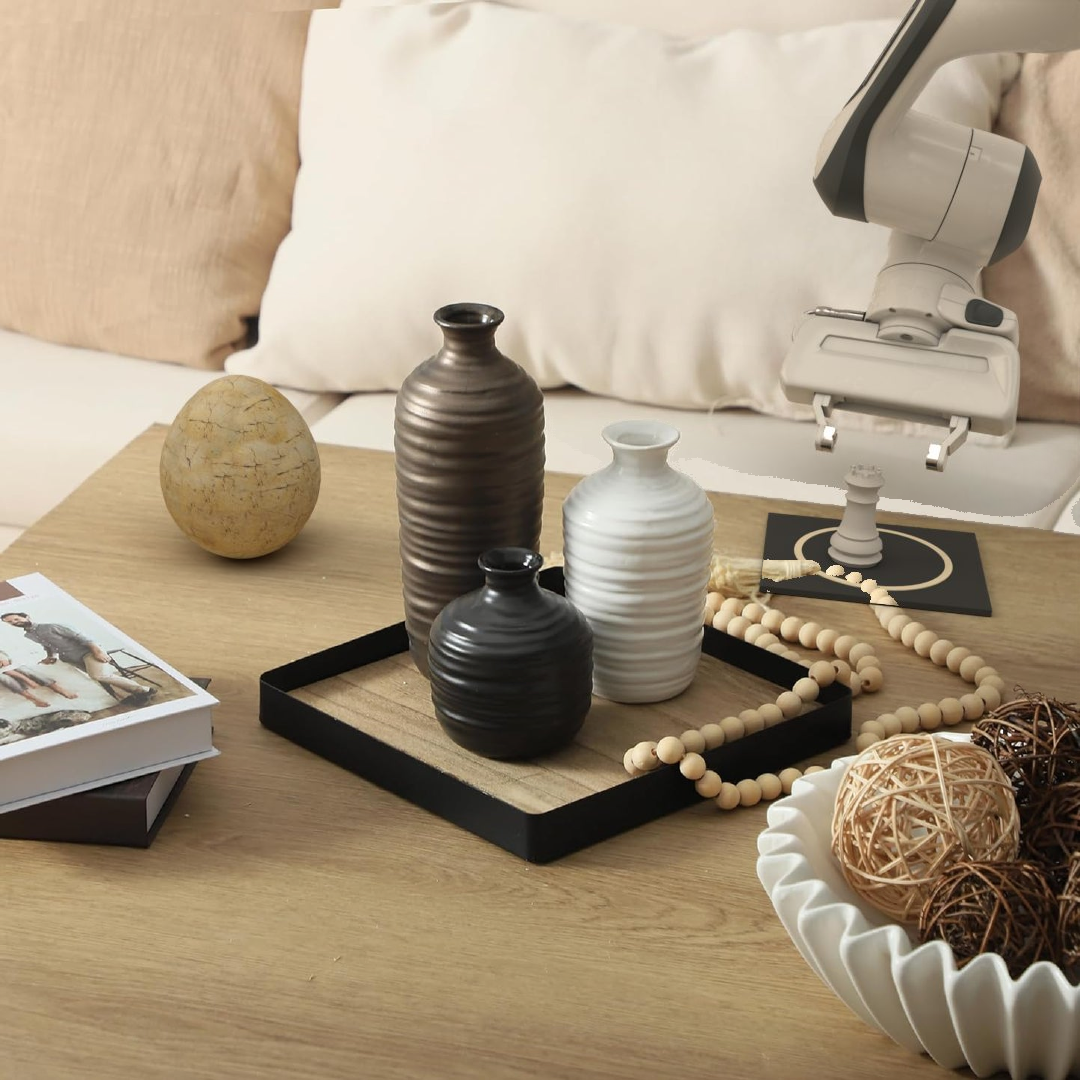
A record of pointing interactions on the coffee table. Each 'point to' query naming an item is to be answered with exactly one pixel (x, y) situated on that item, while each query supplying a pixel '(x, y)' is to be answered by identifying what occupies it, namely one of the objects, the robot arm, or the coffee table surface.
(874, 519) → the rook chess piece
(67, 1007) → the coffee table surface
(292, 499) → the fossilized egg
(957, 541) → the black circle mat
